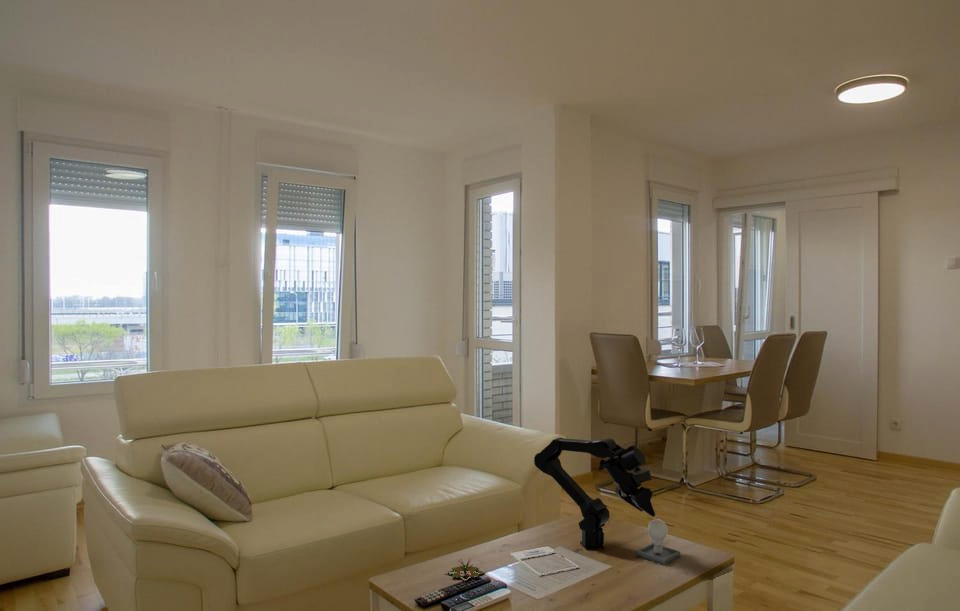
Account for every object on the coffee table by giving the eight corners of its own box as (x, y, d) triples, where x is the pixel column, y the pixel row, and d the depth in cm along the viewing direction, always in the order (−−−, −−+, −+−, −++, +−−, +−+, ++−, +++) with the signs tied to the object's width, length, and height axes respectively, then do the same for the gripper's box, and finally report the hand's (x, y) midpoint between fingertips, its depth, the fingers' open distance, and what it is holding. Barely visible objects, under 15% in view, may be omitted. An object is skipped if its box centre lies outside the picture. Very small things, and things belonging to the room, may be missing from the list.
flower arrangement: (466, 588, 176) (466, 572, 176) (437, 575, 184) (437, 560, 184) (493, 575, 185) (493, 559, 185) (464, 563, 193) (464, 549, 193)
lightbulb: (669, 551, 201) (669, 518, 202) (666, 558, 196) (666, 524, 196) (649, 548, 204) (649, 515, 204) (646, 555, 198) (646, 521, 199)
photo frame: (548, 545, 206) (579, 566, 190) (548, 549, 206) (579, 569, 190) (509, 552, 199) (538, 574, 183) (509, 556, 199) (538, 578, 183)
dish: (664, 565, 192) (664, 559, 192) (636, 556, 200) (636, 550, 200) (680, 557, 199) (680, 551, 199) (652, 548, 207) (652, 542, 207)
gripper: (649, 462, 195) (679, 502, 194) (627, 456, 213) (654, 493, 213) (623, 484, 193) (653, 525, 192) (603, 476, 211) (630, 513, 210)
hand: (648, 513), depth 202 cm, fingers open, 9 cm apart
